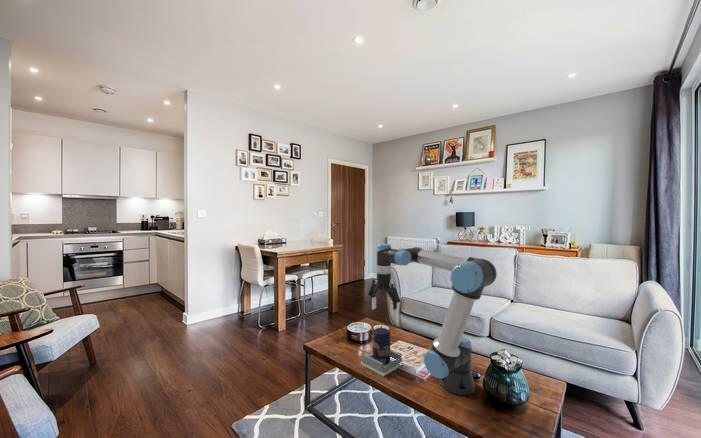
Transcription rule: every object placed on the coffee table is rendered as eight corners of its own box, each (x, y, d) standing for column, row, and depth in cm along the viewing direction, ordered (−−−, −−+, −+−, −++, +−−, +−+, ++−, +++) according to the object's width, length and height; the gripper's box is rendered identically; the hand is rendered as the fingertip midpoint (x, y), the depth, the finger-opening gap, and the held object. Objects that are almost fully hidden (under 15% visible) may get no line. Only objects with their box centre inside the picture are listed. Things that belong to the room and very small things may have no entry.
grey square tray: (402, 364, 157) (402, 354, 157) (383, 376, 146) (383, 365, 146) (380, 354, 169) (380, 344, 169) (360, 364, 158) (360, 354, 158)
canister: (391, 366, 153) (391, 332, 152) (373, 366, 153) (373, 332, 152) (389, 357, 162) (389, 325, 162) (371, 357, 162) (372, 325, 162)
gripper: (407, 275, 150) (406, 316, 151) (371, 268, 168) (370, 305, 169) (398, 277, 145) (398, 319, 145) (362, 270, 163) (362, 308, 163)
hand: (383, 312), depth 157 cm, fingers open, 13 cm apart
